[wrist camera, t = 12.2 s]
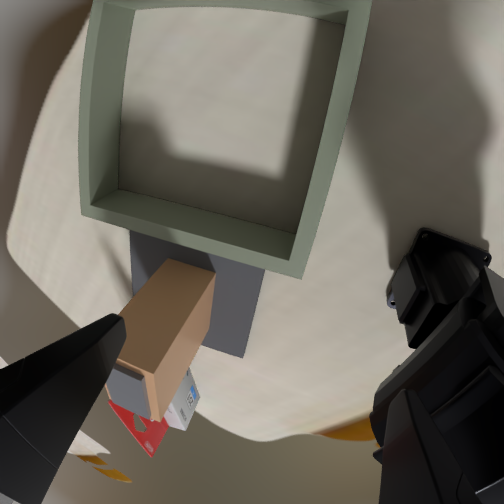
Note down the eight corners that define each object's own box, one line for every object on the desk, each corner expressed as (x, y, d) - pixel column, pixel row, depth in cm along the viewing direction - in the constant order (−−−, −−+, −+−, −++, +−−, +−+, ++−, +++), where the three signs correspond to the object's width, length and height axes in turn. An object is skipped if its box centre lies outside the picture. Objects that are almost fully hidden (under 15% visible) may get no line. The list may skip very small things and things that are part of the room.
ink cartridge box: (178, 330, 28) (129, 409, 20) (202, 397, 34) (171, 465, 25) (156, 326, 29) (106, 401, 21) (183, 393, 34) (151, 458, 26)
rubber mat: (268, 253, 22) (267, 258, 21) (244, 353, 28) (242, 358, 27) (133, 215, 23) (129, 218, 23) (138, 316, 29) (135, 320, 28)
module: (215, 272, 23) (150, 379, 14) (209, 328, 26) (157, 427, 17) (167, 258, 24) (88, 350, 15) (167, 313, 27) (107, 402, 18)
